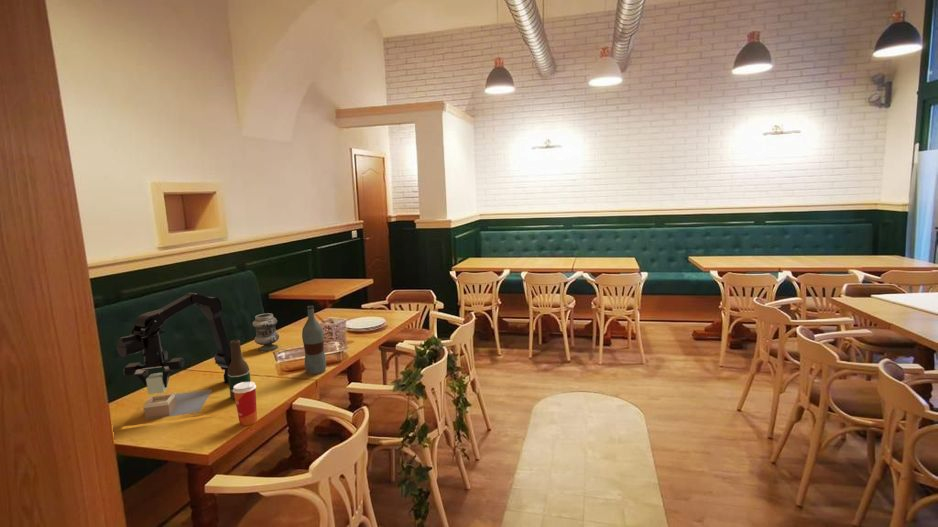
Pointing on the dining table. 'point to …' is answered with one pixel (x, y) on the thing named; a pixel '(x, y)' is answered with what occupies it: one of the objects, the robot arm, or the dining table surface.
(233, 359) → the beer bottle
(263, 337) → the apothecary jar
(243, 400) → the paper cup
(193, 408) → the board
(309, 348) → the vodka
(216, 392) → the dining table surface
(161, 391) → the green block
